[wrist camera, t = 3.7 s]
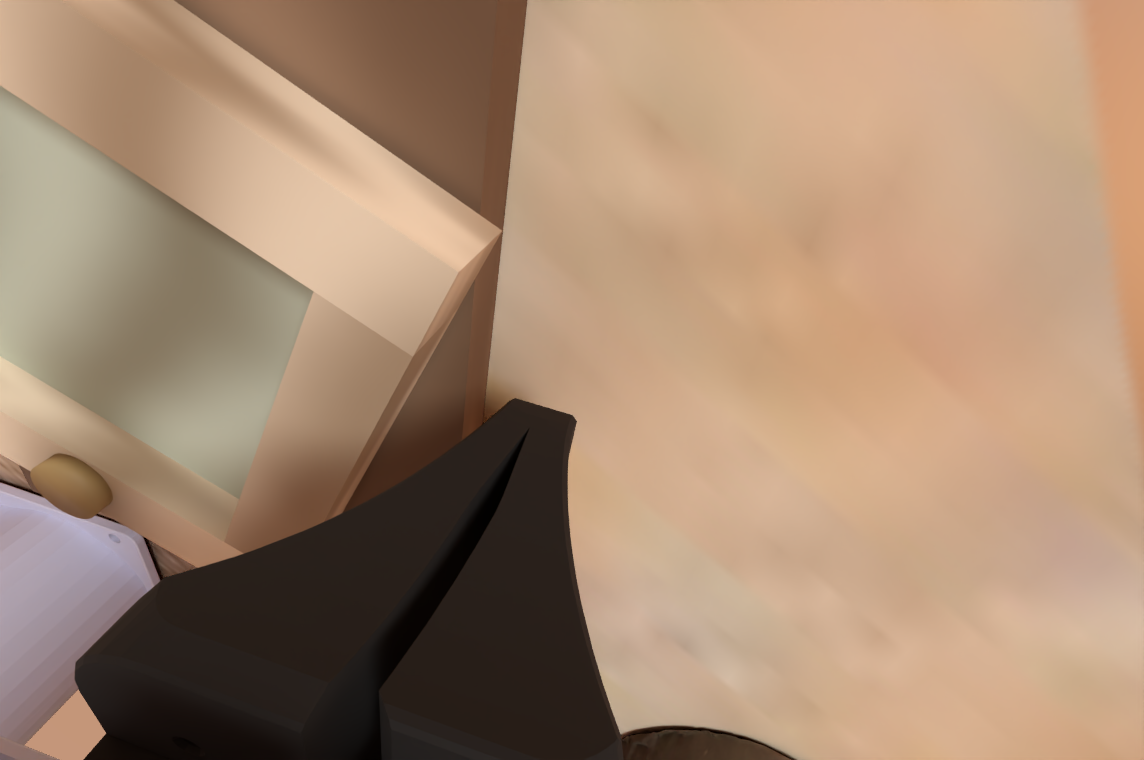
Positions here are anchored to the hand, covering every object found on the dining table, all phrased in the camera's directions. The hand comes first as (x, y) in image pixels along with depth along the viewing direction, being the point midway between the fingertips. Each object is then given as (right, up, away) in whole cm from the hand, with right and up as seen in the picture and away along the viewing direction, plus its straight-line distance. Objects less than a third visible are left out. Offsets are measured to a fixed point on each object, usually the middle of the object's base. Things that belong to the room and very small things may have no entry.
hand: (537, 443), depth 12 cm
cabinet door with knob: (-9, +3, +2) cm, 10 cm away
